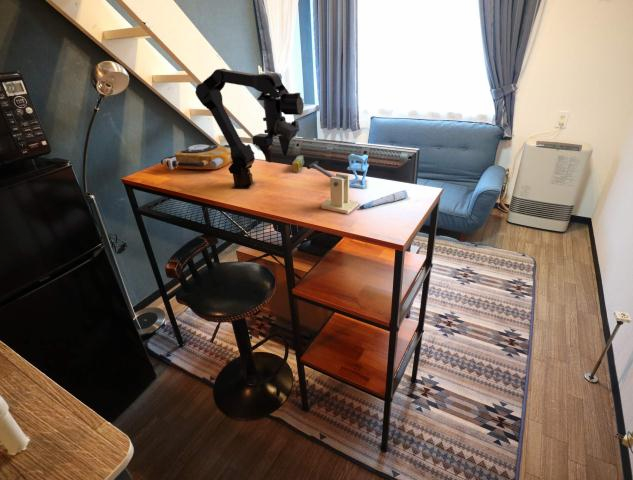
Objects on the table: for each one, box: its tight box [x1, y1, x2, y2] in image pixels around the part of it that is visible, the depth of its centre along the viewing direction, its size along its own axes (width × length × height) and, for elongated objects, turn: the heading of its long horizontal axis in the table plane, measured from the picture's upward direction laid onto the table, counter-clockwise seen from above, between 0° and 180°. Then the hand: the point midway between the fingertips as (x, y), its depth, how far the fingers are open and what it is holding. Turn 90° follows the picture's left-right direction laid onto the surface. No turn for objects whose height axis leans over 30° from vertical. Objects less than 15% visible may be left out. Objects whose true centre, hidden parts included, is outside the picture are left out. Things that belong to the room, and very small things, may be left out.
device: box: [160, 144, 233, 170], centre depth 158 cm, size 23×8×30 cm
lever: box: [306, 160, 346, 183], centre depth 113 cm, size 13×6×2 cm, turn 59°
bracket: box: [320, 172, 359, 215], centre depth 114 cm, size 10×8×11 cm
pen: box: [358, 189, 409, 209], centre depth 116 cm, size 19×3×3 cm, turn 118°
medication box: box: [291, 154, 305, 173], centre depth 152 cm, size 12×3×4 cm, turn 171°
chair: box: [346, 153, 370, 189], centre depth 131 cm, size 8×8×12 cm
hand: (277, 158), depth 126 cm, fingers open, 9 cm apart
